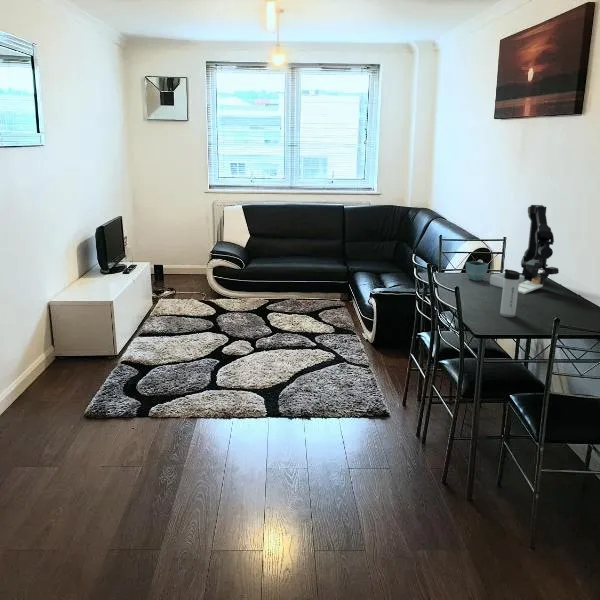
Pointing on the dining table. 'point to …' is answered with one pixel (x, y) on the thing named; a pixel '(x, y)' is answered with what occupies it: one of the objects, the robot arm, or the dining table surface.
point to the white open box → (501, 279)
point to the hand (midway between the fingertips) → (537, 284)
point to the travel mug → (510, 293)
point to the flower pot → (476, 270)
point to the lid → (529, 285)
